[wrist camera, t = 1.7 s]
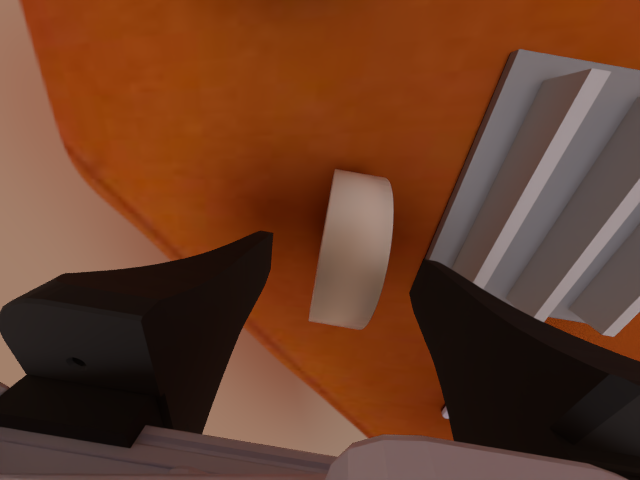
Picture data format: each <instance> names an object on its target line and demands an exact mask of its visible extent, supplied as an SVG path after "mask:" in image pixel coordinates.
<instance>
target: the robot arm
mask: <svg viewBox="0 0 640 480" xmlns="http://www.w3.org/2000/svg"><path fill="white" fill-rule="evenodd" d="M272 242H273V233H270V232H264V231H258V232H256V233H253V234H251V235H249V236H246V237H244V238H242V239H240V240H237V241H235V242H233V243H230V244H228V245H225V246H222V247H220V248H217V249H215V250H212V251H209V252H206V253H203V254H199V255H196V256H192V257H189V258H185V259H180V260H175V261H170V262H165V263H161V264H155V265H149V266H143V267H135V268H127V269H118V270H108V271H94V272H81V273H65V274H62V275H60V276H58V277H56V278H54V279H53V280H51V281H49V282H47V283H45V284H43V285H41V286H39V287H37V288H35V289H33V290H31V291H29V292H28V293H26V294H24V295H22V296H20V297H18V298H16V299H14V300H12V301H11V302H9V303H7V304H6V305H5V306H3V308H2V310H1V311H0V332H1V335H2V337H3V339H4V341H5V342H6V344H7V345H8V347H9V348H10V350H11V351H12V353H13V354H14V356H15V357H16V359H17V361H18V362H19V364H20V365H21V367H22V368H23V370H24V371H25V373H26V374H27V375H26V376H25V377H23V378H22V379H21V380H19V381H18V382H17V383H16V384H14V385H13V386H12V387H11V388H9V387H8V386H6V385H5V384H3V383H1V382H0V480H640V362H639V361H636V360H634V359H631V358H628V357H625V356H623V355H620V354H618V353H615V352H612V351H610V350H607V349H605V348H602V347H600V346H597V345H595V344H592V343H590V342H587V341H585V340H582V339H580V338H578V337H575V336H573V335H571V334H568V333H566V332H564V331H562V330H560V329H557V328H555V327H553V326H551V325H548V324H546V323H544V322H542V321H540V320H538V319H536V318H534V317H532V316H530V315H528V314H526V313H524V312H522V311H520V310H518V309H517V308H515V307H513V306H511V305H509V304H507V303H506V302H504V301H502V300H500V299H499V298H497V297H495V296H494V295H492V294H490V293H488V292H487V291H485V290H484V289H482V288H480V287H479V286H477V285H476V284H474V283H472V282H471V281H469V280H468V279H466V278H465V277H463V276H461V275H460V274H458V273H457V272H455V271H454V270H452V269H450V268H449V267H447V266H445V265H443V264H442V263H439V262H437V261H433V260H427V259H423V261H422V264H421V266H420V269H419V271H418V273H417V276H416V278H415V281H414V283H413V285H412V288H411V290H410V293H409V294H410V299H411V303H412V307H413V311H414V314H415V317H416V319H417V322H418V324H419V327H420V329H421V332H422V334H423V337H424V339H425V342H426V344H427V346H428V349H429V351H430V354H431V356H432V359H433V362H434V365H435V368H436V371H437V375H438V378H439V382H440V385H441V389H442V393H443V396H444V400H445V404H446V406H445V408H444V409H443V411H442V415H443V417H444V418H446V419H449V421H450V425H451V430H452V434H453V439H454V441H450V440H444V439H438V438H432V437H426V436H417V435H380V436H376V437H373V438H369V439H366V440H362V441H358V442H355V443H352V444H351V445H350V446H349V447H348V448H347V449H346V450H345V451H344V452H343V453H342V454H341V455H340V456H338V457H335V456H329V455H323V454H317V453H311V452H305V451H298V450H293V449H287V448H281V447H275V446H269V445H263V444H256V443H251V442H245V441H238V440H232V439H226V438H220V437H214V436H208V435H202V432H203V429H204V427H205V424H206V421H207V418H208V415H209V412H210V409H211V407H212V404H213V401H214V399H215V396H216V393H217V390H218V388H219V385H220V382H221V379H222V377H223V374H224V371H225V369H226V367H227V364H228V361H229V359H230V356H231V354H232V351H233V349H234V346H235V344H236V341H237V339H238V336H239V334H240V332H241V330H242V328H243V326H244V324H245V322H246V320H247V318H248V316H249V314H250V312H251V311H252V309H253V307H254V305H255V303H256V301H257V299H258V297H259V296H260V294H261V292H262V290H263V288H264V286H265V283H266V281H267V278H268V275H269V272H270V269H271V256H272Z"/></svg>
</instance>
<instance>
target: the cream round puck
mask: <svg viewBox="0 0 640 480" xmlns="http://www.w3.org/2000/svg"><path fill="white" fill-rule="evenodd" d="M393 213H394V210H393V193H392V188H391V185H390V182H389V181H388V179H387V178H384V177H378V176H373V175H367V174H361V173H356V172H350V171H344V170H338V169H335V171H334V176H333V179H332V185H331V191H330V196H329V202H328V207H327V213H326V218H325V224H324V230H323V235H322V241H321V246H320V252H319V258H318V264H317V270H316V276H315V282H314V288H313V295H312V301H311V307H310V314H309V321H312V322H317V323H323V324H329V325H335V326H340V327H346V328H352V329H358V330H361V329H363V328H365V326H366V325H367V324H368V322H369V321H370V319H371V317H372V315H373V313H374V311H375V308H376V306H377V303H378V300H379V297H380V294H381V291H382V287H383V283H384V280H385V275H386V271H387V266H388V261H389V255H390V249H391V241H392V231H393Z"/></svg>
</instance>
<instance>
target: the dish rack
mask: <svg viewBox="0 0 640 480" xmlns="http://www.w3.org/2000/svg"><path fill="white" fill-rule="evenodd" d="M425 259H427V260H433V261H437V262H439V263H442V264H443V265H445V266H447V267H449V268H450V269H452V270H454V271H455V272H457V273H458V274H460V275H461V276H463V277H465V278H466V279H468V280H469V281H471V282H472V283H474V284H476V285H477V286H479V287H480V288H482V289H484V290H485V291H487V292H488V293H490V294H492V295H494V296H495V297H497V298H499V299H500V300H502V301H504V302H506V303H507V304H509V305H511V306H513V307H515V308H517V309H518V310H520V311H522V312H524V313H526V314H528V315H530V316H532V317H534V318H536V319H538V320H540V321H542V322H544V321H545V320H546V319H547V317H553V318H559V319H564V320H570V321H576V322H582V323H587V324H589V325H590V326H591V327H593V328H594V329H595V330H597V331H598V332H599V333H600V334H602V335H607V336H613V337H614V336H615V335H616V334H617V333H618V332H619V331H620V330H621V329H622V328H623V327H624V326H625V325H626V324H627V323H628V322H629V321H630V320H632V319H633V318H634V317H635V316H636V315H637V314H638V313H639V312H640V70H634V69H629V68H623V67H618V66H612V65H606V64H601V63H595V62H589V61H584V60H578V59H572V58H567V57H561V56H555V55H550V54H544V53H538V52H533V51H527V50H521V49H519V50H516V51H514V52H512V53H511V54H510V56H509V59H508V61H507V63H506V66H505V68H504V71H503V73H502V75H501V78H500V80H499V83H498V85H497V87H496V90H495V92H494V94H493V97H492V99H491V102H490V104H489V106H488V109H487V111H486V114H485V116H484V118H483V121H482V123H481V126H480V128H479V130H478V133H477V135H476V138H475V140H474V142H473V145H472V147H471V149H470V152H469V154H468V157H467V159H466V161H465V164H464V166H463V169H462V171H461V173H460V176H459V178H458V181H457V183H456V185H455V188H454V190H453V193H452V195H451V197H450V200H449V202H448V205H447V207H446V209H445V212H444V214H443V216H442V219H441V221H440V224H439V226H438V228H437V231H436V233H435V236H434V238H433V240H432V243H431V245H430V248H429V250H428V252H427V255H426V257H425Z"/></svg>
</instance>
